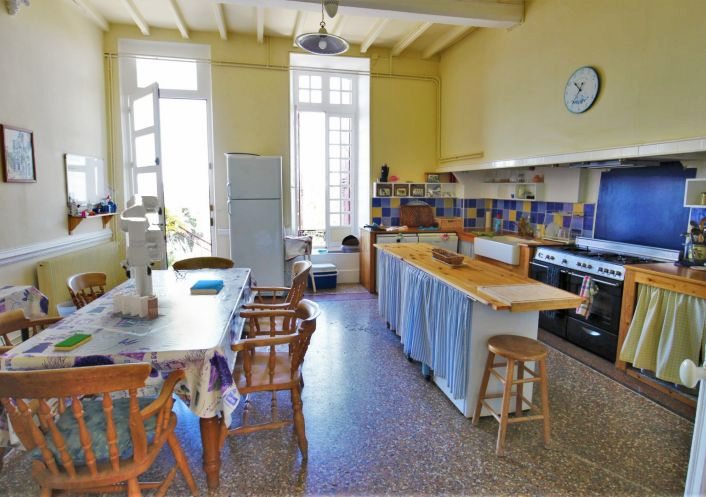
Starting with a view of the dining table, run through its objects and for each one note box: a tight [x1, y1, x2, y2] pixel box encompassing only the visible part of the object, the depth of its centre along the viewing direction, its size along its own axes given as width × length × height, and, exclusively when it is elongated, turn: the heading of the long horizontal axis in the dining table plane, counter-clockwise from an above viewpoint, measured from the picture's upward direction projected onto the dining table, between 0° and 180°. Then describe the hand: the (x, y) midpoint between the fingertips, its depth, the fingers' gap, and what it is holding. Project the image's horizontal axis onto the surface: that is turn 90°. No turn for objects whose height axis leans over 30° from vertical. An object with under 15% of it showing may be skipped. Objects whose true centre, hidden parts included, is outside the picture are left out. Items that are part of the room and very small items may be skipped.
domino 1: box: [112, 291, 124, 313], centre depth 220 cm, size 2×5×10 cm, turn 159°
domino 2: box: [121, 292, 133, 314], centre depth 218 cm, size 2×5×10 cm, turn 159°
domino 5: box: [147, 296, 159, 319], centre depth 212 cm, size 2×5×10 cm, turn 159°
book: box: [189, 279, 225, 295], centre depth 277 cm, size 17×4×25 cm
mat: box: [106, 310, 166, 322], centre depth 217 cm, size 30×11×1 cm, turn 69°
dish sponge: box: [53, 333, 93, 351], centre depth 178 cm, size 7×14×2 cm, turn 179°
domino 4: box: [138, 296, 150, 317], centre depth 214 cm, size 2×5×10 cm, turn 159°
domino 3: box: [130, 295, 140, 316], centre depth 216 cm, size 2×5×10 cm, turn 159°
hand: (139, 276), depth 213 cm, fingers open, 9 cm apart
